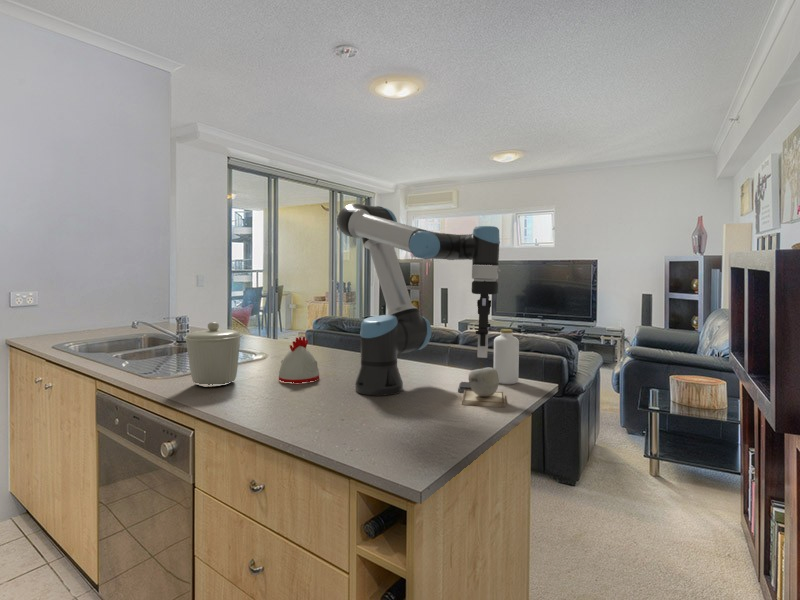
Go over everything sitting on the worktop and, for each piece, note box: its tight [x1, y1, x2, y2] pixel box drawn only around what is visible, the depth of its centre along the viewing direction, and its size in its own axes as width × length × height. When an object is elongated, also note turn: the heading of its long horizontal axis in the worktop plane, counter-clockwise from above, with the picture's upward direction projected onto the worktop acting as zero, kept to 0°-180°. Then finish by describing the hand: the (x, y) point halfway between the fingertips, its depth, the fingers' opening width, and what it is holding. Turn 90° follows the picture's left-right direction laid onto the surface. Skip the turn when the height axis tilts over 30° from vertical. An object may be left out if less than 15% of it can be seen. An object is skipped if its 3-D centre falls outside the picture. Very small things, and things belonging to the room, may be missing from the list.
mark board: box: [461, 390, 506, 408], centre depth 132 cm, size 12×12×1 cm
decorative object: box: [468, 361, 499, 397], centre depth 132 cm, size 9×9×10 cm
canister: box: [183, 321, 243, 385], centre depth 150 cm, size 18×18×21 cm
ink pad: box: [457, 381, 472, 393], centre depth 143 cm, size 10×8×2 cm
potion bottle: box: [493, 328, 520, 385], centre depth 152 cm, size 8×8×18 cm
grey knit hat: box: [278, 336, 320, 383], centre depth 157 cm, size 14×14×15 cm
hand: (482, 352), depth 131 cm, fingers open, 13 cm apart
